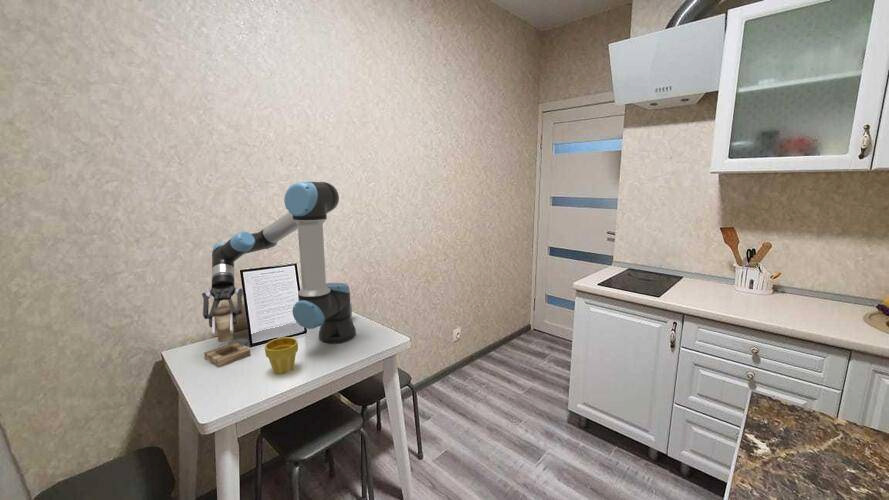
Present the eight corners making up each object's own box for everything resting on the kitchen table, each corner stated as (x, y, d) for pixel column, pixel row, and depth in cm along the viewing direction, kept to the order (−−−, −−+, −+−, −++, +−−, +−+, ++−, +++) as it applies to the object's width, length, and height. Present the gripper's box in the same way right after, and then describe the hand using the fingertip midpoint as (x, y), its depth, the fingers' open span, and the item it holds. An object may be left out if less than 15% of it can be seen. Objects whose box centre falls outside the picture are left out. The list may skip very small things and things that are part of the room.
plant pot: (278, 380, 119) (276, 352, 117) (260, 371, 124) (258, 345, 122) (305, 367, 127) (303, 341, 126) (287, 359, 133) (285, 334, 131)
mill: (236, 338, 134) (232, 307, 131) (221, 343, 129) (217, 311, 127) (229, 335, 136) (225, 305, 134) (214, 340, 132) (210, 309, 130)
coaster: (251, 342, 146) (251, 341, 146) (233, 348, 141) (233, 347, 141) (242, 338, 150) (242, 337, 150) (224, 344, 145) (224, 343, 145)
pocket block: (250, 355, 136) (249, 349, 135) (219, 367, 127) (218, 360, 126) (236, 347, 142) (235, 341, 141) (205, 358, 133) (204, 352, 132)
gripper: (249, 280, 147) (252, 333, 135) (198, 286, 140) (195, 342, 128) (247, 270, 141) (249, 324, 130) (193, 275, 134) (190, 333, 122)
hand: (223, 333), depth 129 cm, fingers closed on mill, 5 cm apart
